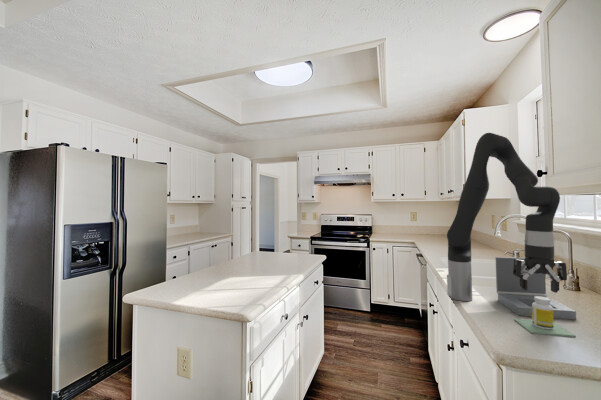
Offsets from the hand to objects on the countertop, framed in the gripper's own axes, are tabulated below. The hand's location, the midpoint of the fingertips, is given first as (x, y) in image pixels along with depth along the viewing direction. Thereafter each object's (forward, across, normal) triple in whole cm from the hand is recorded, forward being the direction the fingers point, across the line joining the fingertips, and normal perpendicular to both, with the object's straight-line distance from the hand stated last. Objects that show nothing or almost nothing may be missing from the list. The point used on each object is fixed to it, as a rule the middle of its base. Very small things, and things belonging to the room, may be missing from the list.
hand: (539, 290), depth 89 cm
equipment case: (+13, +8, +19) cm, 24 cm away
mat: (+13, +1, 0) cm, 13 cm away
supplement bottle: (+13, +1, 0) cm, 13 cm away
